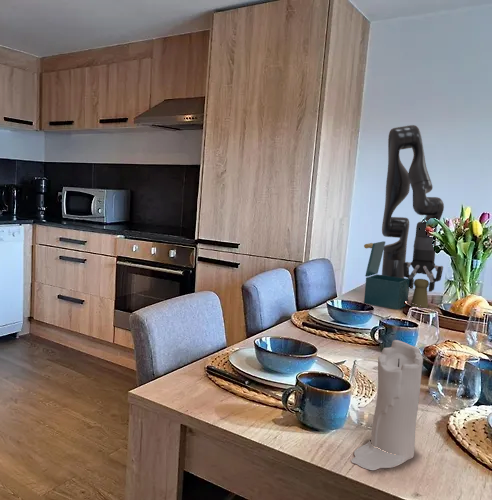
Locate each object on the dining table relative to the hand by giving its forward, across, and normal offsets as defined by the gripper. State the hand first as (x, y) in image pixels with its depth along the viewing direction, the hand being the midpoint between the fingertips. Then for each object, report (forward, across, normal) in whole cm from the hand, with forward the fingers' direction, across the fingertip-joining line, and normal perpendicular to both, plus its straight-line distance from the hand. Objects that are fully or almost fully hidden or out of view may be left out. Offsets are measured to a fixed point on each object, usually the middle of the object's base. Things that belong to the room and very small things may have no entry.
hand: (420, 289), depth 200 cm
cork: (+7, 0, 0) cm, 7 cm away
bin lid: (-11, +15, +7) cm, 20 cm away
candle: (+7, -33, +125) cm, 130 cm away
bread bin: (+7, +10, +7) cm, 14 cm away
